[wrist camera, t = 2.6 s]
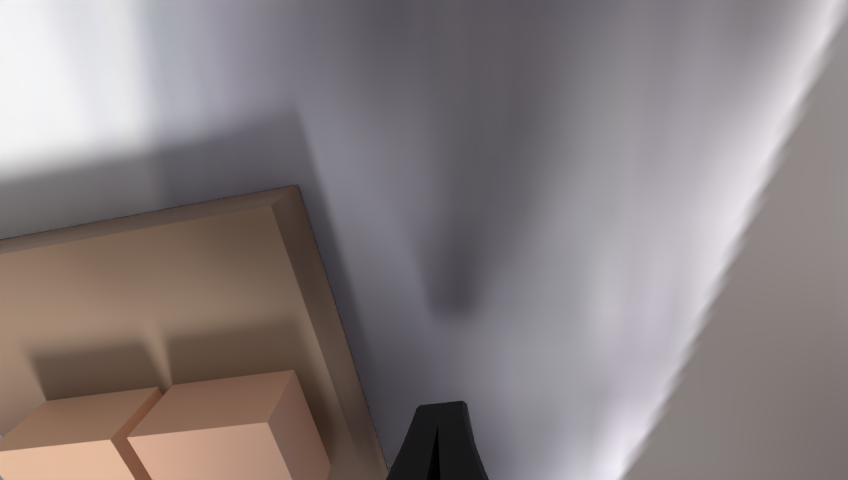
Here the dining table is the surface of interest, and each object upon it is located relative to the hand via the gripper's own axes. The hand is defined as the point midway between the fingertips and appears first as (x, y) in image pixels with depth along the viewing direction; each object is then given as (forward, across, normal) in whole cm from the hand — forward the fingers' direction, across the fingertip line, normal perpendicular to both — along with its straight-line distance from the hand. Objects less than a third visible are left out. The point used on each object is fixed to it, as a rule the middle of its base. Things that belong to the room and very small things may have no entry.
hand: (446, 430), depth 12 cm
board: (+3, +9, 0) cm, 10 cm away
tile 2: (+1, +11, 0) cm, 11 cm away
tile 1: (+1, +6, 0) cm, 6 cm away
